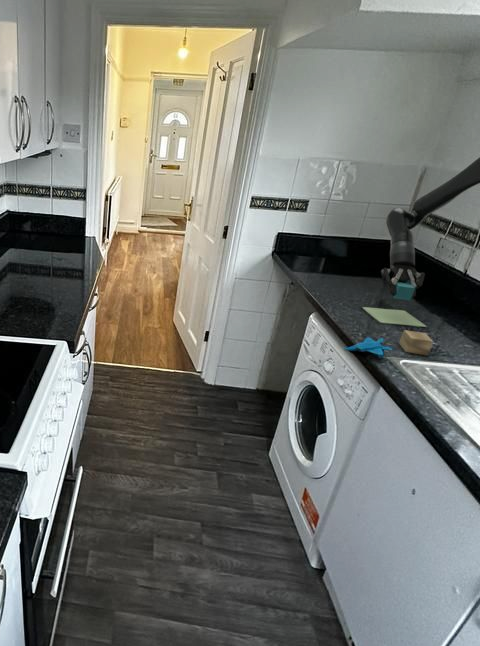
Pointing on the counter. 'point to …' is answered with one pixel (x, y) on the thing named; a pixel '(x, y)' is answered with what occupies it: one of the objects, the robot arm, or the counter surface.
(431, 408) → the counter surface
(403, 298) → the top cube
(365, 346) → the toy airplane
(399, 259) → the robot arm
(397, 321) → the mat
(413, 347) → the base block
